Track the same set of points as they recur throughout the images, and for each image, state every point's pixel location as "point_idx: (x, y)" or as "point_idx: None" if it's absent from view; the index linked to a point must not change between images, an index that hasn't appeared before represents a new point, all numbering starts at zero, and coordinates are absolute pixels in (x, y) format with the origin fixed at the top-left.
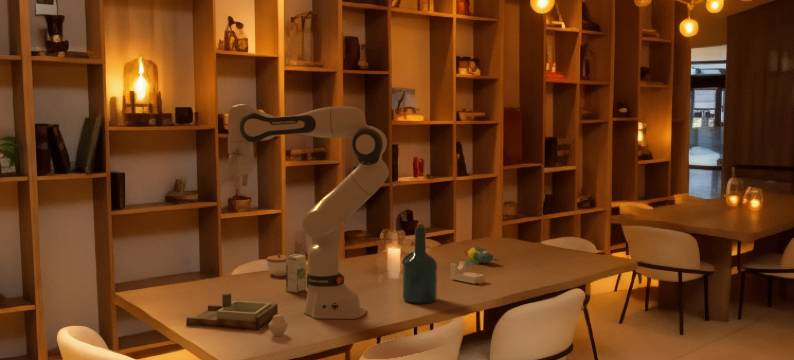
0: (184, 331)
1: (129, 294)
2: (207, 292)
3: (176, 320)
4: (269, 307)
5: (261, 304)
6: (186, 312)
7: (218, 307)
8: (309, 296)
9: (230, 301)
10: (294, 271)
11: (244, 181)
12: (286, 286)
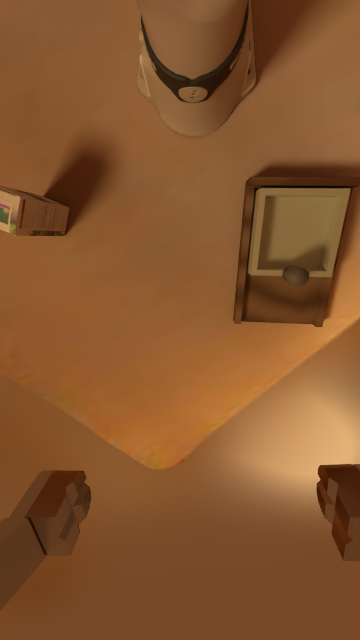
0: (352, 311)
1: (162, 460)
2: (119, 367)
3: (290, 347)
4: (282, 183)
5: (263, 210)
6: (243, 351)
7: (242, 303)
8: (227, 91)
9: (297, 266)
10: (43, 209)
11: (60, 533)
12: (60, 234)
